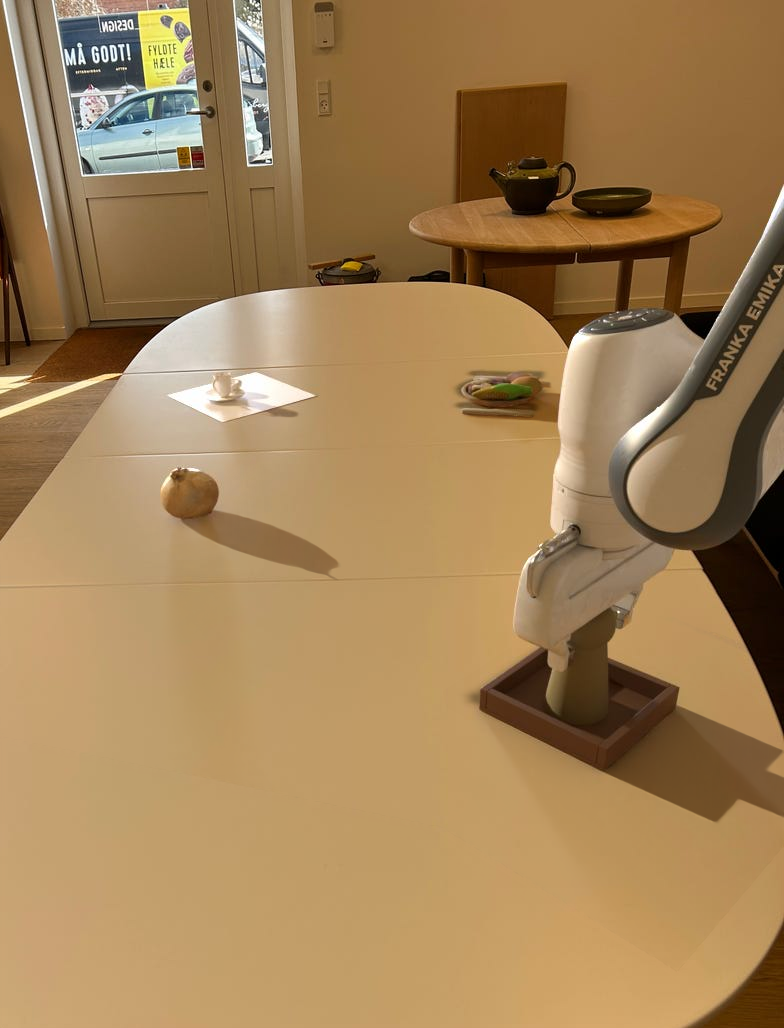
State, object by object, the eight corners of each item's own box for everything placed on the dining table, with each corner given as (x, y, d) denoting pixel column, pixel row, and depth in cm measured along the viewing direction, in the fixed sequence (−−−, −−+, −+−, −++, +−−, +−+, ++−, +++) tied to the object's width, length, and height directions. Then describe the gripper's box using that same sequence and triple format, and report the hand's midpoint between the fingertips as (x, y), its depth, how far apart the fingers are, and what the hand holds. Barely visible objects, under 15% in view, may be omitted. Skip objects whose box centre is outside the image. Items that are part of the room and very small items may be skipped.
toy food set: (467, 378, 179) (468, 356, 177) (543, 380, 176) (545, 358, 174) (455, 414, 163) (456, 391, 161) (539, 417, 160) (541, 393, 158)
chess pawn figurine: (530, 707, 92) (540, 608, 86) (565, 680, 96) (576, 583, 90) (587, 733, 88) (601, 631, 83) (620, 703, 92) (636, 604, 86)
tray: (675, 708, 92) (679, 687, 90) (603, 771, 85) (606, 749, 83) (553, 656, 100) (555, 635, 99) (478, 709, 93) (480, 688, 92)
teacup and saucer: (234, 385, 182) (232, 364, 180) (257, 395, 177) (255, 373, 175) (194, 396, 178) (191, 374, 176) (216, 406, 173) (214, 384, 171)
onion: (179, 499, 139) (173, 452, 135) (229, 505, 137) (225, 457, 133) (153, 522, 133) (146, 474, 129) (206, 529, 130) (200, 480, 126)
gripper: (565, 563, 74) (552, 708, 81) (700, 479, 85) (678, 613, 93) (498, 540, 78) (492, 680, 85) (635, 462, 89) (619, 592, 97)
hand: (590, 644), depth 89 cm, fingers open, 8 cm apart
